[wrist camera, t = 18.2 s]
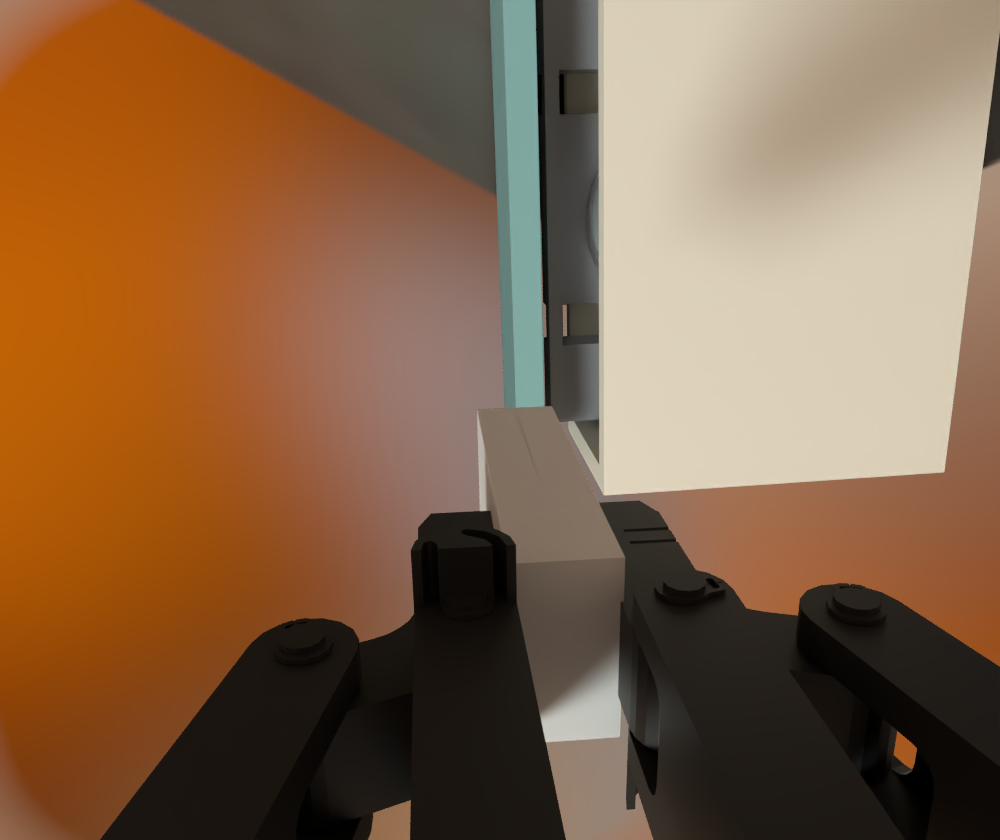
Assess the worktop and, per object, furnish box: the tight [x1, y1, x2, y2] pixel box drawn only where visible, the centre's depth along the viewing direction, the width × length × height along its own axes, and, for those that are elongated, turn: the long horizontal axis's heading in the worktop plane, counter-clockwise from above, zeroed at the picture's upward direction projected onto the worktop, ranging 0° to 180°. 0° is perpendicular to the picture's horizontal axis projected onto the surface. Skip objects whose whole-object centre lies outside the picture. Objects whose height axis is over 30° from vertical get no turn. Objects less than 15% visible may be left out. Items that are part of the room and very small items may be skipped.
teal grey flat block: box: [490, 0, 599, 422], centre depth 31 cm, size 13×18×5 cm
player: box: [564, 0, 1000, 495], centre depth 30 cm, size 12×18×7 cm, turn 2°
